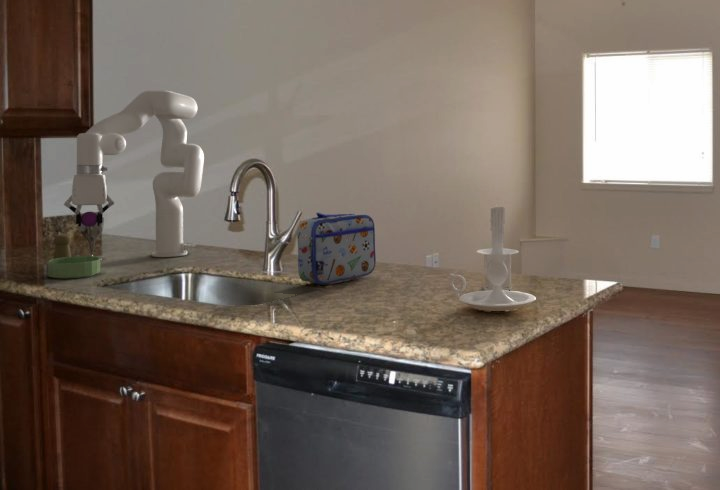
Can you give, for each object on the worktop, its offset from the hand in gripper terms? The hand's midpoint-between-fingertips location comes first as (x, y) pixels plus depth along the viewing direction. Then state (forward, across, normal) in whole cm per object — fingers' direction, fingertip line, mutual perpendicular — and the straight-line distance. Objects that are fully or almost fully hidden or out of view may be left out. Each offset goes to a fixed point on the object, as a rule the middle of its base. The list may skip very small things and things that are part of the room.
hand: (89, 225), depth 260 cm
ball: (-2, 0, 0) cm, 2 cm away
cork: (+16, +9, -18) cm, 25 cm away
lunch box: (+16, -72, +44) cm, 86 cm away
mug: (+16, -112, +77) cm, 137 cm away
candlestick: (+16, -101, +100) cm, 143 cm away
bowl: (+16, +4, +2) cm, 17 cm away
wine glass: (+16, +1, -31) cm, 35 cm away
